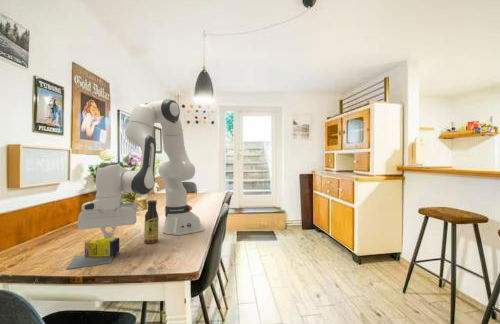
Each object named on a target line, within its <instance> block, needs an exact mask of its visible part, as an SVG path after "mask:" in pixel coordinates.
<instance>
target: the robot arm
mask: <svg viewBox="0 0 500 324" xmlns="http://www.w3.org/2000/svg"><path fill="white" fill-rule="evenodd" d="M180 111H181V109H180V106H179V104H178V103H177V102H176V101H175V100H173V99H171V98H169V99H166V98H165V99H158V100H155V101H151V102H146V103H140V104H137V105H136V106H134V108H133V109H132V112H131V114H130V116H129V119H128V122H127V126H126V129H125V136H126V139H127V140H128V141H129V142H130V143H131V144H133V145H135V146H137V147H139V148H140V150H141V158H140V166H139V168H138V169H137V170H130V169H129V170H128V169H127V168H124V167H123V166H121V164H120V163H119V162H103V163H101V164H99V165H98V167H97V169H96V173H95V187H96V193H95V199H92V200H90V201H87V202H85V203H83V204H82V205H81V206H80V207H81V209H80V210H81V211H80V213H79V214H78V218H77V228H78V229H79V230H87V229H89V230H90V229H100V231H101V233H102V234H103V235H104V236H103V238H114V232H115V230H116V229H117V227H121V226H132V225H136V223H137V211H138V204H137V203H136V202H133V201H130V202H127V201H122V193H127V194H128V193H129V194H136V195H147V194H149V193H150V192H152V190H153V189H154V187H155V183H156V181H155V180H156V178H155V165H156V153H157V143H156V139H155V138H154V135H153V134H154V133H153V132H154V128H155V127H154V126H155V124H160V127H161V137H162V146H163V147H162V148H163V151H164V153H165V154H166V155H167V157H168V160H167V161H164V162H162V163H161V164H160V165H159V167H158V171H157V172H158V174H159V176H160V177H161V179H162V182H163V186H164V189H165V190H164V191H165V207H164V217H165V219H164V226H163V230H162V233H163V234H167V235H174V236H183V235H188V234H193V233H198V232H199V233H200V232H203V231H205V230H206V229H205V225H203V224H202V223H201V219H200V217H199V216H198V215H196V214H195V213H193V212H192V210H193V206H191V205H189V204H187V203H188V201H187V199H188V196H187V195H188V193H187V189H186V188H185V187H184V185H183V182H185V181H189V180H191V179H193V178H194V176H195V175H196V168H195V165H194V164H193V163H192V162H191V161H190V159H189V157H188V154H187V151H186V147H185V141H184V140H185V139H184V130H183V126H182V122H181V119H180ZM106 228H111V232H107V230H106Z"/></svg>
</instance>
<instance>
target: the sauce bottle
mask: <svg viewBox="0 0 500 324" xmlns="http://www.w3.org/2000/svg"><path fill="white" fill-rule="evenodd" d="M157 203H158V201H157V199H151V200H150V199H149V200H147V211H146V213H145V214H144V215H145V216H144V228H143V229H144V230H143V232H144V234H143V239H144V243H145V244H155V243H157V242H158V239H159V214H158V211H157Z"/></svg>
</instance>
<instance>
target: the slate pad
mask: <svg viewBox="0 0 500 324" xmlns="http://www.w3.org/2000/svg"><path fill="white" fill-rule="evenodd" d="M114 256H115V255H113V256H109V257H85V254H82V255H76V256H74V257H73V258H72V260H71V262H69V264H68V265H67V267H66V268H65V271H67V270H73V269H74V270H75V269H80V268H86V267H87V268H88V267H89V268H90V267H95V266H102V265H108V264H111V263H112V261H113V259H114Z"/></svg>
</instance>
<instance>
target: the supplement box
mask: <svg viewBox="0 0 500 324" xmlns="http://www.w3.org/2000/svg"><path fill="white" fill-rule="evenodd" d="M119 252H120V237H113V238H104V237H94V238H91V239H88V240H87V241H86V242H84V255H85V257H109V256H113V255H114V256H115V255H116V254H117V253H119ZM114 256H113V257H114Z"/></svg>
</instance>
